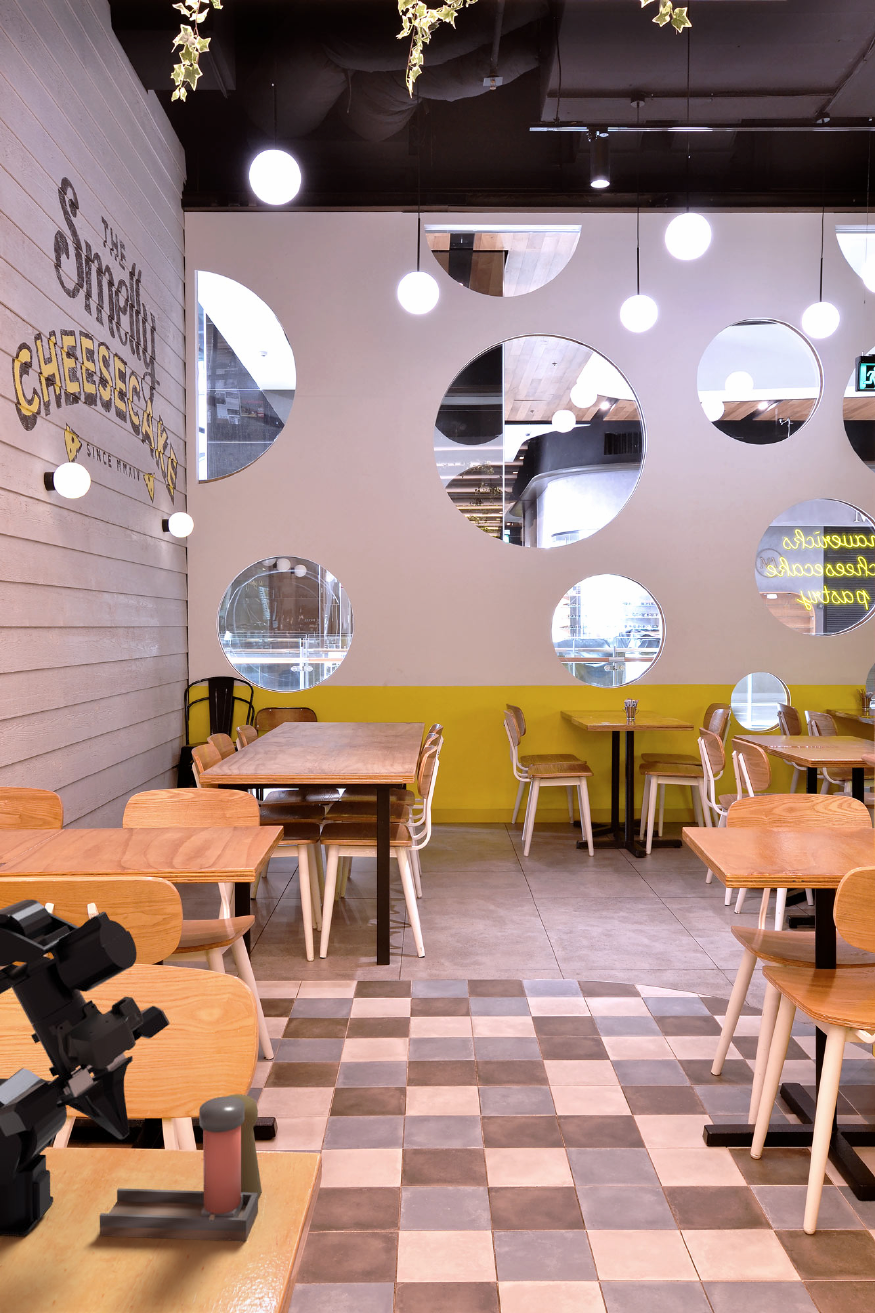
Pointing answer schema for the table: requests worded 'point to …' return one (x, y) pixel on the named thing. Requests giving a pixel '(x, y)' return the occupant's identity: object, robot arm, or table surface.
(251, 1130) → the olive rounded upright piece
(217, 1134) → the plug
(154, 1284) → the table surface
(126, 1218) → the track
